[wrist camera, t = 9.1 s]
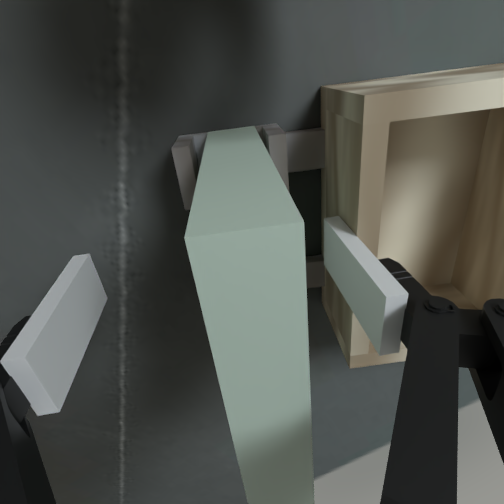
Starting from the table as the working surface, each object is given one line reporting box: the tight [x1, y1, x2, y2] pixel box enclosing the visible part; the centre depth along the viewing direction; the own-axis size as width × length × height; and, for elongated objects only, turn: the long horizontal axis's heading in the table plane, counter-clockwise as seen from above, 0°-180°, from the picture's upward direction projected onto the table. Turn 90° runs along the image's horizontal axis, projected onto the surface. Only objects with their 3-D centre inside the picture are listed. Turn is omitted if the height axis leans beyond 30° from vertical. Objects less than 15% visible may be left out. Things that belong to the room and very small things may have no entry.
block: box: [184, 126, 314, 504], centre depth 15 cm, size 3×12×12 cm, turn 6°
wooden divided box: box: [171, 63, 504, 368], centre depth 18 cm, size 24×14×6 cm, turn 96°
